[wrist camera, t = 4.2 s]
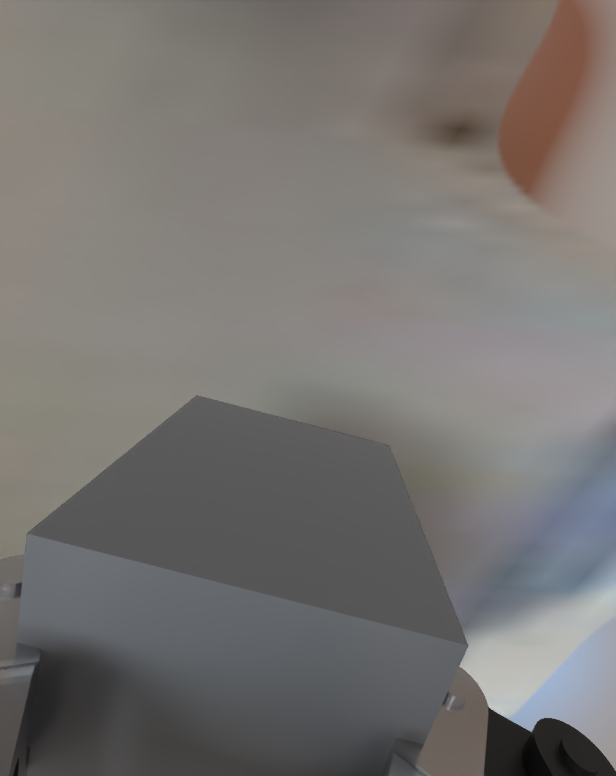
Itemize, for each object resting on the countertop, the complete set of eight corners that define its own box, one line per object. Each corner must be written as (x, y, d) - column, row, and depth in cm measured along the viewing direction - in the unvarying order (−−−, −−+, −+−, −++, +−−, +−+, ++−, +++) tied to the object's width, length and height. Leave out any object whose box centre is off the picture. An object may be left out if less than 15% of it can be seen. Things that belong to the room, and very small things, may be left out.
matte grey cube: (196, 394, 12) (26, 533, 5) (389, 445, 12) (468, 645, 5) (164, 561, 13) (-2, 837, 7) (335, 605, 14) (345, 921, 7)
